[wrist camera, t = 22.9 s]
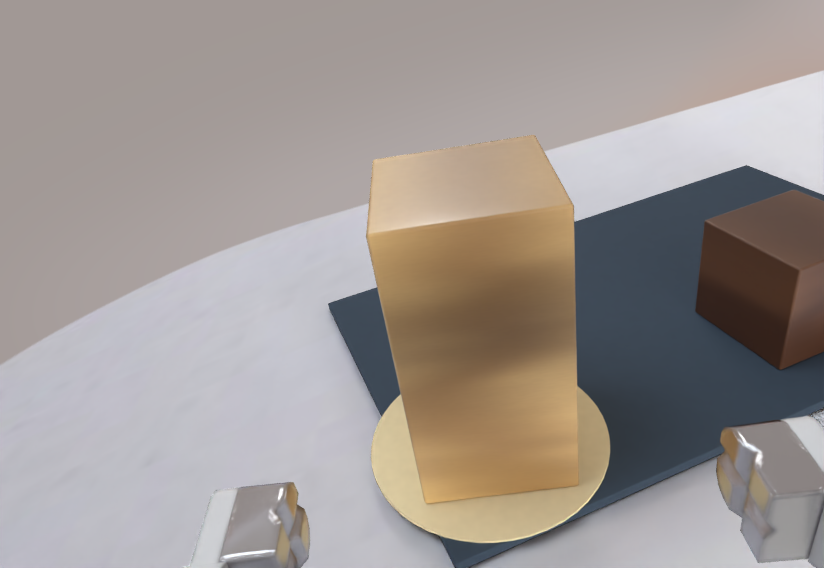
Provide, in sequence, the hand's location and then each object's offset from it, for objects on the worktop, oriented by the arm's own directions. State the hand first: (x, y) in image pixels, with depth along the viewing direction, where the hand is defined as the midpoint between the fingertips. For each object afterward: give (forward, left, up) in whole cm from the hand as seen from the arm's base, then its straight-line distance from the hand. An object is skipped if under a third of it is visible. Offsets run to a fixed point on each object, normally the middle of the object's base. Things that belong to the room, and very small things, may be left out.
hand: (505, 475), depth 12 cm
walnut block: (+10, +14, -7) cm, 19 cm away
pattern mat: (+5, +16, -8) cm, 19 cm away
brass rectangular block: (-1, +8, -7) cm, 10 cm away
